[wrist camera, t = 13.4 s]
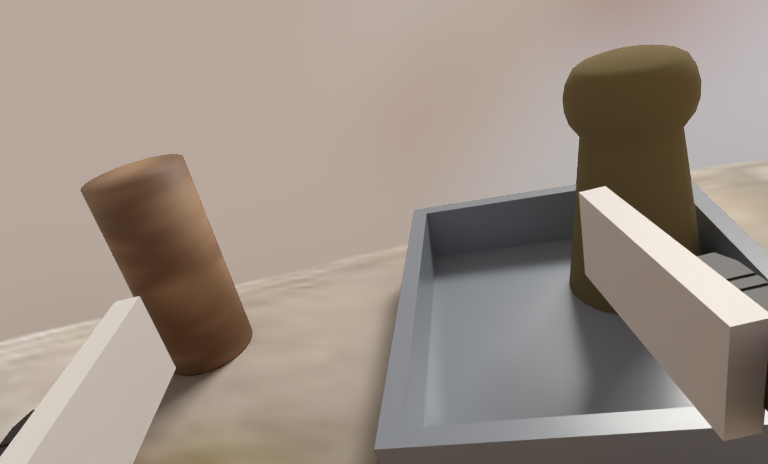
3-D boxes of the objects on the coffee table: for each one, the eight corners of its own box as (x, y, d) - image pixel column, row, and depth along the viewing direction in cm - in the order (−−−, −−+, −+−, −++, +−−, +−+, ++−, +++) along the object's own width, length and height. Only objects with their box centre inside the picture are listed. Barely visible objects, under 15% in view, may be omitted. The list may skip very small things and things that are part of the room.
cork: (585, 244, 30) (570, 44, 25) (710, 253, 27) (720, 23, 22) (554, 307, 26) (529, 79, 21) (700, 326, 22) (709, 60, 18)
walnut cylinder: (152, 379, 30) (58, 200, 25) (190, 325, 34) (116, 164, 29) (235, 370, 29) (153, 182, 24) (263, 315, 33) (198, 148, 28)
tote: (400, 532, 18) (373, 449, 17) (426, 266, 34) (414, 210, 32) (906, 517, 15) (936, 413, 13) (677, 232, 31) (678, 168, 29)
